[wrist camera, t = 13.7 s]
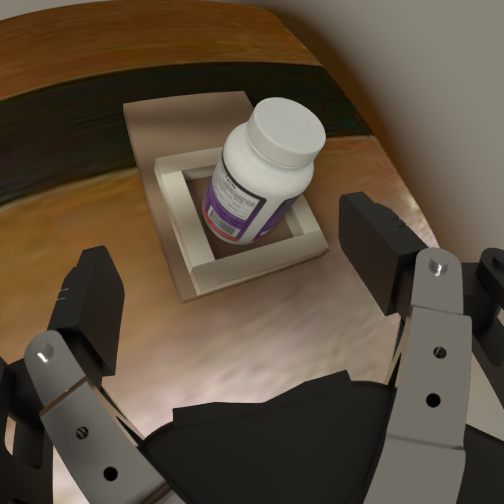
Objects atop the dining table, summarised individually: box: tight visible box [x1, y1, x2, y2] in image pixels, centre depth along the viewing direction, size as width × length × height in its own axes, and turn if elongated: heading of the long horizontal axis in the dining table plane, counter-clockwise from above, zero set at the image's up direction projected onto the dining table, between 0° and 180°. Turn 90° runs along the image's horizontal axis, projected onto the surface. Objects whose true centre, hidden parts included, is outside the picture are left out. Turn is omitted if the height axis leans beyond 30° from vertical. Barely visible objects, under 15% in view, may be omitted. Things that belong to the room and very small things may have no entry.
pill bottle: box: [202, 98, 326, 245], centre depth 19 cm, size 5×5×10 cm
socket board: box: [123, 91, 329, 304], centre depth 25 cm, size 18×12×2 cm, turn 24°
